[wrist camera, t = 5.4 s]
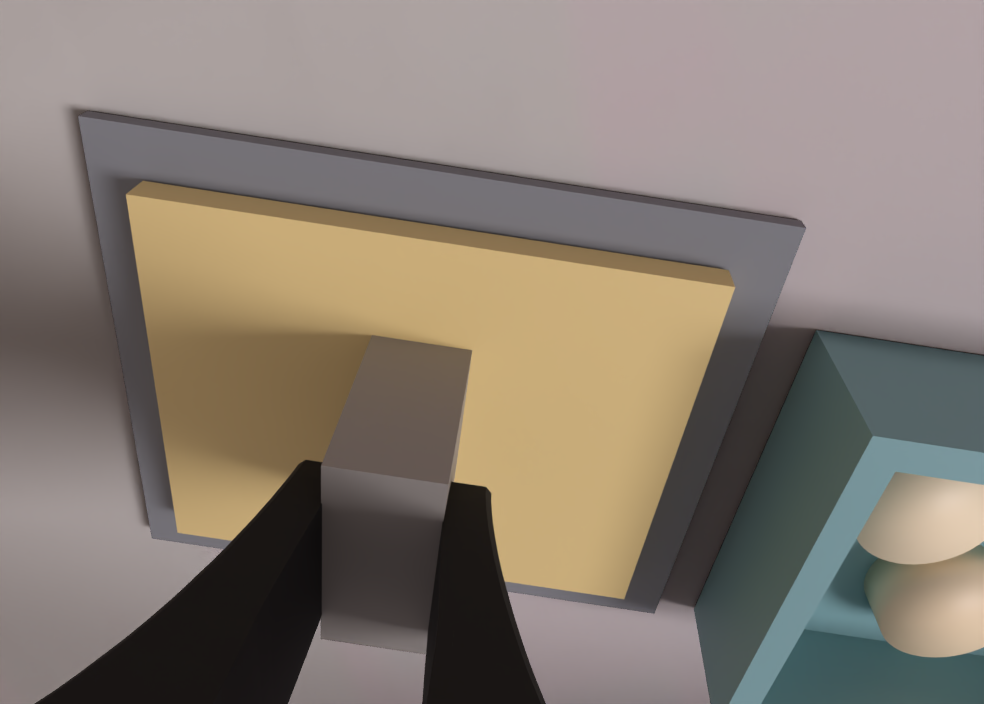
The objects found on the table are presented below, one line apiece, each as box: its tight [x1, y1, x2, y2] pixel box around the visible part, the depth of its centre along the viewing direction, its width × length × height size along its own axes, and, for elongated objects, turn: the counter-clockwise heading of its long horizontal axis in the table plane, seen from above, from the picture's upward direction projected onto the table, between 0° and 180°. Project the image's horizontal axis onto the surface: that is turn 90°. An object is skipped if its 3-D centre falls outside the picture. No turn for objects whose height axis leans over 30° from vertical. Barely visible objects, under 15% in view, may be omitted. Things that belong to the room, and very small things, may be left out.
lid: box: [126, 181, 735, 654], centre depth 13 cm, size 10×8×4 cm
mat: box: [78, 111, 806, 613], centre depth 15 cm, size 12×10×1 cm
